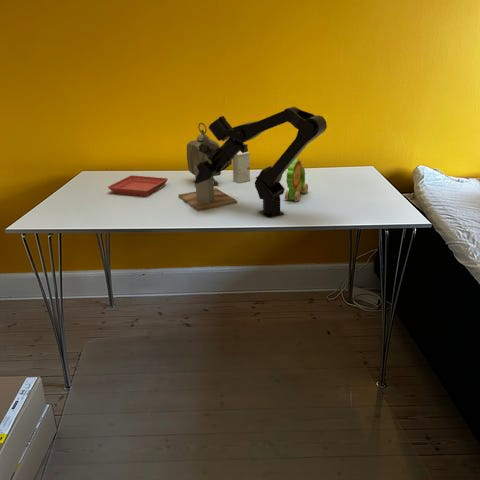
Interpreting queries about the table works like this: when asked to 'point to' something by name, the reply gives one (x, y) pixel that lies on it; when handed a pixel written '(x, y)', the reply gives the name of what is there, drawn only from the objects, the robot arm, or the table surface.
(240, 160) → the skincare box
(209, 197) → the tall taupe box
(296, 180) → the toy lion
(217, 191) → the walnut board
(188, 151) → the tabletop clock
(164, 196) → the table surface
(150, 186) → the plant saucer
